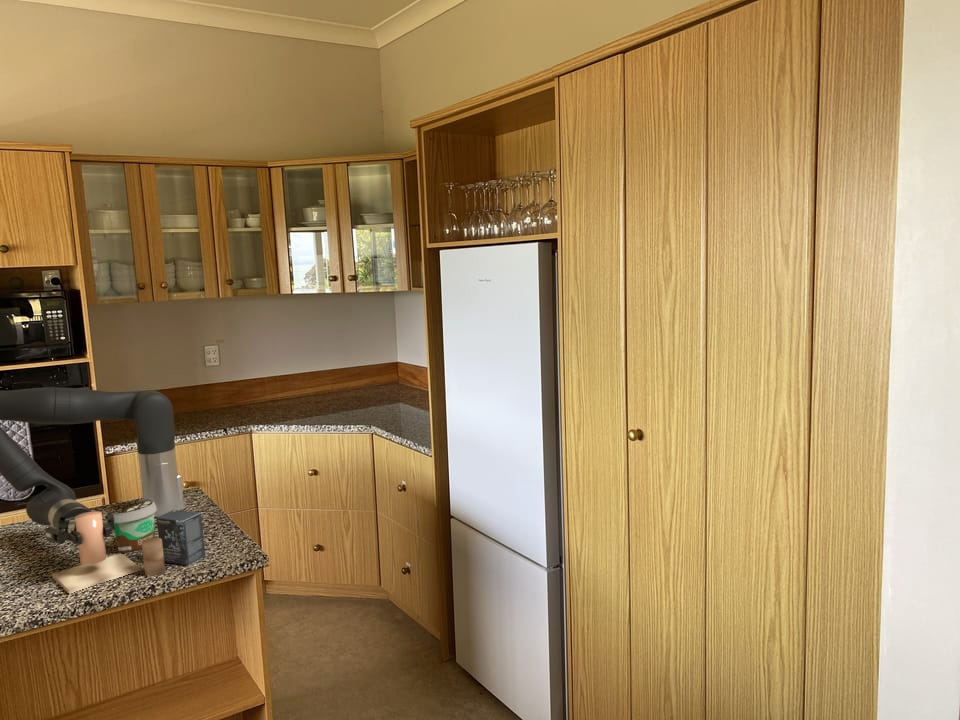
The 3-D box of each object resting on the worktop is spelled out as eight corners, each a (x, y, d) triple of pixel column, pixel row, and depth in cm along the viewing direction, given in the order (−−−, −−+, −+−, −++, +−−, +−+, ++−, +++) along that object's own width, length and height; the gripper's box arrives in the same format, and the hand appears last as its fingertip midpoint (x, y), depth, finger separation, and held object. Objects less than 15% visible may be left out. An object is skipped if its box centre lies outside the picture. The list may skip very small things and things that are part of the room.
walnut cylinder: (161, 566, 157) (157, 536, 156) (168, 571, 154) (164, 540, 153) (142, 572, 154) (138, 541, 153) (149, 577, 152) (145, 546, 151)
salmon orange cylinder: (102, 553, 157) (97, 509, 156) (109, 559, 154) (104, 514, 152) (77, 560, 154) (71, 515, 153) (84, 566, 150) (79, 521, 149)
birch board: (121, 557, 164) (121, 553, 163) (140, 571, 155) (140, 567, 155) (52, 578, 154) (52, 573, 154) (69, 594, 145) (68, 589, 145)
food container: (137, 557, 163) (133, 515, 162) (114, 556, 165) (109, 514, 163) (171, 536, 175) (166, 497, 174) (149, 536, 176) (144, 497, 175)
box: (160, 562, 159) (155, 517, 158) (179, 552, 165) (174, 508, 163) (188, 566, 157) (182, 520, 155) (206, 556, 162) (201, 511, 160)
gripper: (33, 510, 158) (54, 528, 146) (102, 494, 168) (128, 510, 156) (37, 543, 159) (58, 563, 147) (106, 525, 169) (131, 543, 157)
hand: (94, 536), depth 151 cm, fingers closed on salmon orange cylinder, 5 cm apart
